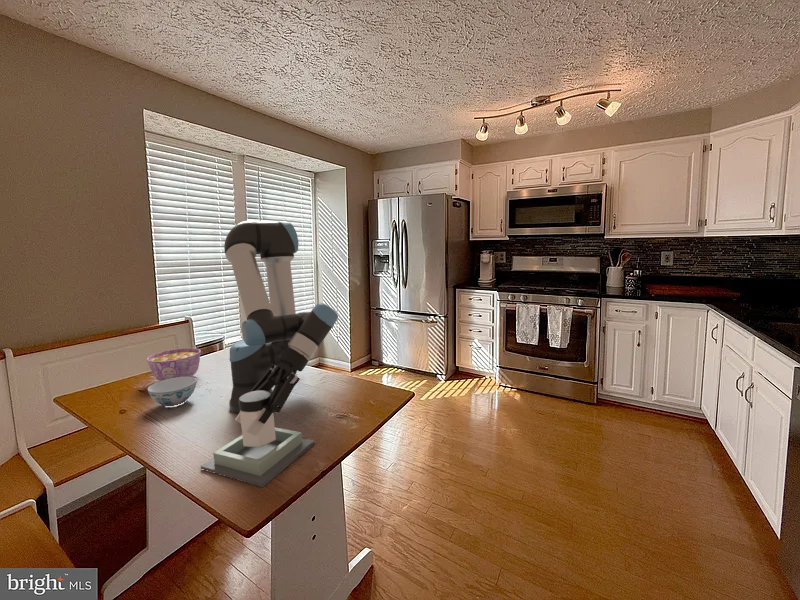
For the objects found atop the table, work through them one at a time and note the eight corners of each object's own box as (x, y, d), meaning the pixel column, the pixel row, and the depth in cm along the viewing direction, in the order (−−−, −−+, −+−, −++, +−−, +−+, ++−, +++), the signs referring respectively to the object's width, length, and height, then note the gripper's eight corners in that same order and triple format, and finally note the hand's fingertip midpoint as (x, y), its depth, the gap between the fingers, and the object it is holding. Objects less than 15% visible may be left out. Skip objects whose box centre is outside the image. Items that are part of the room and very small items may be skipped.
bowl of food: (165, 392, 146) (161, 364, 144) (140, 383, 156) (137, 357, 155) (213, 376, 162) (210, 351, 161) (188, 369, 173) (185, 345, 171)
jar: (267, 428, 103) (263, 387, 101) (283, 436, 98) (279, 393, 96) (236, 441, 96) (231, 397, 95) (251, 451, 91) (246, 405, 89)
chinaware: (141, 409, 131) (138, 388, 129) (181, 393, 144) (179, 374, 143) (167, 416, 124) (165, 394, 123) (207, 399, 138) (205, 379, 136)
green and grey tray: (201, 469, 93) (199, 455, 92) (259, 432, 111) (257, 419, 111) (262, 487, 85) (261, 471, 85) (314, 443, 104) (313, 430, 103)
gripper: (326, 367, 97) (272, 448, 89) (290, 353, 112) (242, 421, 104) (306, 352, 93) (248, 435, 85) (272, 339, 108) (220, 409, 100)
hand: (245, 427), depth 94 cm, fingers closed on jar, 8 cm apart
